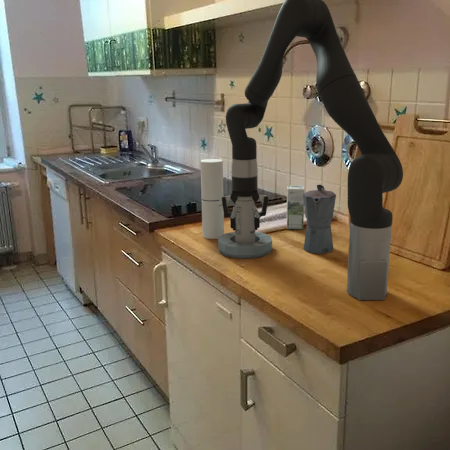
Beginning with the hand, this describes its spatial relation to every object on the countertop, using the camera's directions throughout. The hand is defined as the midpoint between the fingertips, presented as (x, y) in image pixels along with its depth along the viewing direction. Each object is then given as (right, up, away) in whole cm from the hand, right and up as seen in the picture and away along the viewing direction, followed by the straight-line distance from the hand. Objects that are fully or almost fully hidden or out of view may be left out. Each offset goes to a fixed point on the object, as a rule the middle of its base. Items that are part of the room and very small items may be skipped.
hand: (245, 229), depth 150 cm
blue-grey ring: (0, -6, +2) cm, 6 cm away
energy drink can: (0, -5, +1) cm, 5 cm away
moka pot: (+22, -6, +2) cm, 23 cm away
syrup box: (+18, 0, +24) cm, 30 cm away
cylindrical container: (-10, -2, +16) cm, 19 cm away
